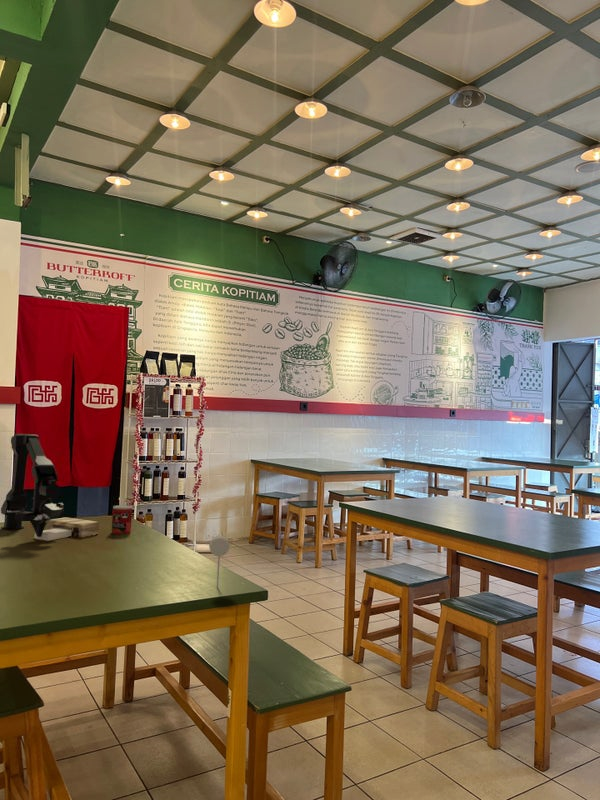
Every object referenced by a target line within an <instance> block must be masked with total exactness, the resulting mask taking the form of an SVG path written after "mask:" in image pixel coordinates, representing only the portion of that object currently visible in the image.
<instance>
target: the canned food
mask: <svg viewBox="0 0 600 800" xmlns="http://www.w3.org/2000/svg"><path fill="white" fill-rule="evenodd" d="M132 515H133V506H132V505H127V504H126V505H125V504H123V505H122V504H120V505H113V506H112V515H111V533H112V534H113V535H129V534H130V533H131V531H132V518H133V516H132Z"/></svg>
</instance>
